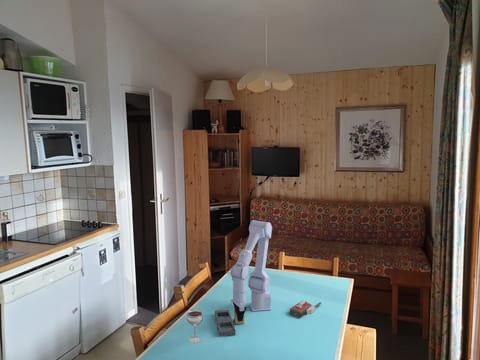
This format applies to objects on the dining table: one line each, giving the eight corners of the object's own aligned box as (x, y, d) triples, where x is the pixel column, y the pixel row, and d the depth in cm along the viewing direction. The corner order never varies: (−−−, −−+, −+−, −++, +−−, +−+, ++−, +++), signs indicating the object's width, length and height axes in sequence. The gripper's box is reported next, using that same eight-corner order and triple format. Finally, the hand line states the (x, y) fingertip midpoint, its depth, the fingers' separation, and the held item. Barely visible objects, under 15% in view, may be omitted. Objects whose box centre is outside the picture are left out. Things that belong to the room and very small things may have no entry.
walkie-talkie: (303, 320, 176) (322, 305, 192) (303, 312, 176) (323, 297, 191) (287, 315, 182) (307, 301, 197) (287, 306, 181) (307, 293, 197)
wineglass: (189, 345, 155) (189, 318, 153) (185, 337, 161) (184, 311, 160) (205, 342, 157) (205, 315, 156) (200, 334, 164) (200, 308, 162)
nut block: (242, 319, 177) (242, 309, 176) (244, 323, 173) (244, 313, 172) (234, 319, 176) (234, 309, 175) (235, 324, 172) (235, 313, 172)
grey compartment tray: (229, 313, 183) (229, 309, 182) (235, 335, 163) (235, 330, 163) (214, 314, 182) (214, 310, 181) (219, 336, 162) (219, 332, 162)
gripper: (228, 284, 179) (228, 311, 181) (233, 298, 165) (233, 327, 167) (243, 284, 180) (243, 310, 182) (248, 296, 166) (248, 325, 168)
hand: (239, 318), depth 174 cm, fingers closed on nut block, 4 cm apart
